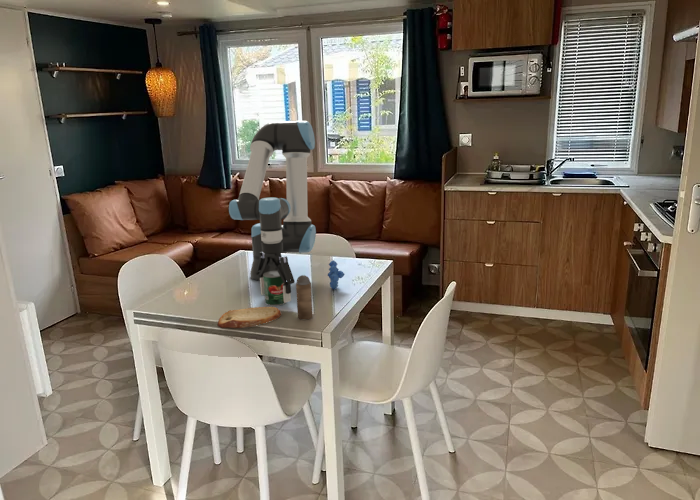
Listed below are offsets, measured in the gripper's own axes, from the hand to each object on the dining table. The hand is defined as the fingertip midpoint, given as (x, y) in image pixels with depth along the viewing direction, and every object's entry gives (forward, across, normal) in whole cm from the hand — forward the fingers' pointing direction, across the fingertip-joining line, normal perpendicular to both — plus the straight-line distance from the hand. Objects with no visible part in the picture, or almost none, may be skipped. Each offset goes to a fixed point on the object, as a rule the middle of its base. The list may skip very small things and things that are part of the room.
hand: (275, 297), depth 205 cm
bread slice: (+2, +7, -17) cm, 18 cm away
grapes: (+2, +6, +25) cm, 26 cm away
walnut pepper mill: (+2, +20, -3) cm, 20 cm away
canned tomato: (+2, 0, 0) cm, 2 cm away
